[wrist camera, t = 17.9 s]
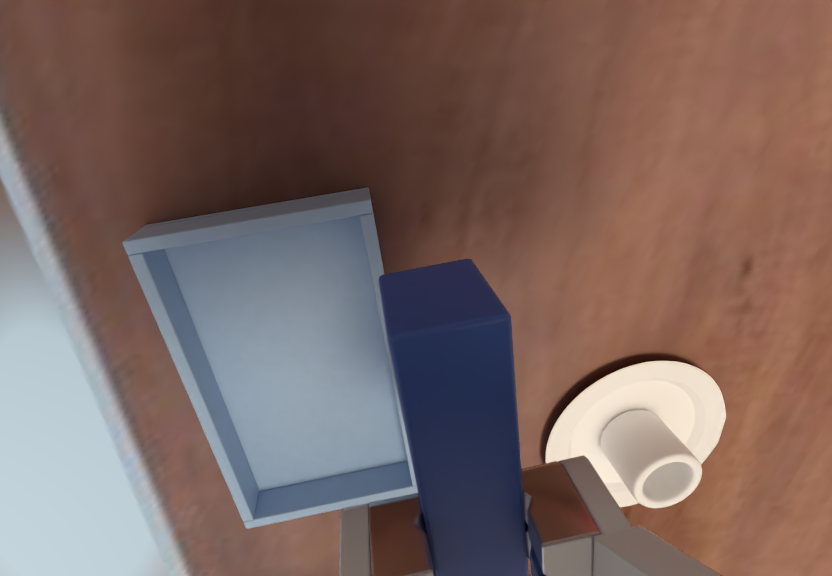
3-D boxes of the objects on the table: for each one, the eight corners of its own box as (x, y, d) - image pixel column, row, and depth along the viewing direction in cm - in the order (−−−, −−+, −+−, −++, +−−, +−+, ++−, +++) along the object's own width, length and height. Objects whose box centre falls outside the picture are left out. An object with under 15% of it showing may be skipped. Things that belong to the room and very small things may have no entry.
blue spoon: (318, 284, 8) (307, 354, 6) (528, 245, 9) (587, 299, 7) (418, 667, 14) (431, 775, 12) (546, 636, 14) (582, 737, 12)
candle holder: (750, 408, 31) (808, 456, 27) (620, 521, 34) (655, 578, 30) (640, 319, 27) (691, 361, 23) (503, 456, 30) (527, 513, 26)
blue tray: (145, 224, 21) (120, 242, 19) (368, 186, 21) (370, 199, 19) (254, 493, 28) (246, 529, 26) (418, 459, 29) (424, 491, 26)
